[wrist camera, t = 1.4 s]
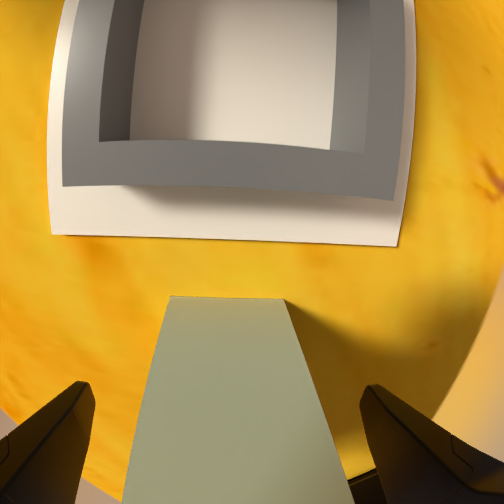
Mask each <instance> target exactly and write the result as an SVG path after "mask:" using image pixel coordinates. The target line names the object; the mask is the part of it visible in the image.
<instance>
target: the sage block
mask: <svg viewBox="0 0 504 504" xmlns="http://www.w3.org/2000/svg"><path fill="white" fill-rule="evenodd" d="M122 504H355V503H354V500H353V497H352V494H351V491H350V488H349V485H348V482H347V479H346V476H345V473H344V470H343V467H342V464H341V461H340V458H339V455H338V452H337V449H336V447H335V444H334V441H333V438H332V435H331V432H330V429H329V426H328V423H327V420H326V418H325V415H324V412H323V409H322V406H321V403H320V400H319V397H318V395H317V392H316V389H315V386H314V383H313V380H312V377H311V375H310V372H309V369H308V366H307V363H306V360H305V358H304V355H303V352H302V349H301V346H300V344H299V341H298V338H297V335H296V332H295V330H294V327H293V324H292V321H291V318H290V316H289V313H288V310H287V307H286V305H285V302H284V299H250V298H211V297H184V296H170V299H169V302H168V306H167V309H166V313H165V316H164V320H163V323H162V327H161V330H160V334H159V337H158V341H157V345H156V349H155V352H154V356H153V360H152V364H151V368H150V372H149V376H148V380H147V384H146V388H145V392H144V396H143V400H142V404H141V409H140V413H139V417H138V422H137V426H136V431H135V436H134V440H133V445H132V450H131V455H130V460H129V465H128V470H127V476H126V481H125V487H124V492H123V498H122Z"/></svg>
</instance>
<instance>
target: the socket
mask: <svg viewBox="0 0 504 504" xmlns="http://www.w3.org/2000/svg"><path fill="white" fill-rule="evenodd" d="M415 97H416V27H415V10H414V0H65V2H64V6H63V11H62V15H61V19H60V24H59V29H58V34H57V40H56V46H55V52H54V58H53V66H52V74H51V82H50V93H49V105H48V124H47V179H48V198H49V211H50V222H51V231H52V234H60V235H105V236H143V237H176V238H207V239H235V240H262V241H287V242H310V243H333V244H354V245H375V246H395V247H396V246H397V241H398V236H399V231H400V225H401V220H402V214H403V209H404V203H405V196H406V190H407V183H408V176H409V168H410V159H411V150H412V140H413V129H414V115H415Z"/></svg>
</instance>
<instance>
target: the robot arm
mask: <svg viewBox="0 0 504 504" xmlns="http://www.w3.org/2000/svg"><path fill="white" fill-rule="evenodd" d="M359 406H360V411H361V416H362V420H363V424H364V429H365V433H366V438H367V442H368V445H369V448H370V451H371V454H372V457H373V460H374V463H375V466H376V470H374V471H372V472H370V473H367V474H365V475H363V476H361V477H358V478H356V479H353V480H351V481H348V485H349V488H350V491H351V494H352V497H353V500H354V503H355V504H504V463H503V462H501V461H499V460H497V459H495V458H493V457H491V456H489V455H487V454H485V453H483V452H481V451H479V450H477V449H475V448H474V447H472V446H470V445H468V444H467V443H465V442H463V441H462V440H460V439H459V438H457V437H456V436H454V435H451V433H449V432H448V431H446V430H445V429H443V428H442V427H440V426H439V425H437V424H436V423H435V422H433V421H432V420H430V419H429V418H427V417H426V416H424V415H423V414H421V413H420V412H418V411H417V410H415V409H414V408H412V407H411V406H409V405H408V404H407V403H405V402H404V401H402V400H401V399H399V398H398V397H396V396H395V395H394V394H392V393H391V392H389V391H388V390H386V389H385V388H384V387H382V386H381V385H379V384H373V385H368V386H366V388H365V390H364V393H363V395H362V398H361V400H360V405H359ZM94 410H95V398H94V395H93V392H92V390H91V387H90V384H89V383H87V382H83V381H76V382H75V383H73V384H72V385H71V386H69V387H68V388H67V389H66V390H64V391H63V392H62V393H60V394H59V395H58V396H56V397H55V398H54V399H53V400H51V401H50V402H49V403H47V404H46V405H45V406H44V407H42V408H41V409H40V410H38V411H37V412H36V413H35V414H33V415H32V416H31V417H29V418H28V419H27V420H26V421H24V422H23V423H22V424H20V425H19V426H18V427H17V428H15V429H14V430H13V431H11V432H10V433H9V434H8V436H7V435H6V436H5V437H4V438H2V439H1V440H0V504H75V500H76V495H77V490H78V486H79V482H80V478H81V474H82V470H83V466H84V462H85V458H86V454H87V450H88V446H89V441H90V435H91V428H92V422H93V416H94Z"/></svg>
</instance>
